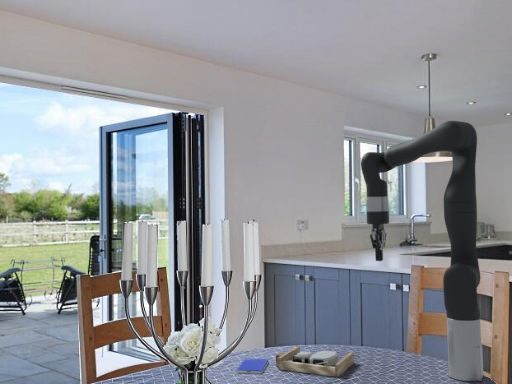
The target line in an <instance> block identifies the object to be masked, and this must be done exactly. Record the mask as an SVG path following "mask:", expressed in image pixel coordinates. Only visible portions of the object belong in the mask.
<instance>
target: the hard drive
mask: <svg viewBox="0 0 512 384" xmlns="http://www.w3.org/2000/svg"><path fill="white" fill-rule="evenodd" d="M269 361H270V360H269V359H267V358H244V359H243V361H242V362H241V363H240V364H239V366H238V367H237V368H236V370H235V373H236V374H255V375H257V374H258V375H259V374H260V375H262V374H263V372H264V371H265V370H266V367H268V364H269Z"/></svg>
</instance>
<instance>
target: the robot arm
mask: <svg viewBox="0 0 512 384" xmlns="http://www.w3.org/2000/svg"><path fill="white" fill-rule="evenodd" d="M477 146H478V134H477V131H476V128H475V127H474V126H473V125H472V124H471V123H469V122H466V121H465V122H464V121H457V120H449V121H448V120H447V121H445V122H443V123H441V124H439V125H437V126H436V127H434V128H432V129H431V130H428V131H427V132H425V133H423V134H421V135H419V136H417V137H415V138H412V139H409V140H406V141H404V142H400V143H397V144H395V145H394V144H393V145H392V146H390V147H388V148H386V149H385V151H383V152H378V151H377V152H376V151H375V152H374V151H369V152H365V153H364V154H363V155H362V157H361V160H360V167H361V168H360V169H361V173H362V176H363V179H364V182H365V187H366V190H365V191H366V201H365V202H366V203H365V204H366V205H365V206H366V208H365V209H366V223H367V225H372V229H371V234H370V235H369V237H370V242H371V245H372V249H374V251H375V252H374V253H375V261H376V262H383V261H384V248H385V247H386V239H387V232H386V229H385V225H389V224H390V209H389V208H390V206H389V205H390V204H389V199H388V197H389V196H388V183H387V181H386V180H384V179H382V178H381V176H380V173H382V174H383V173H387V172H389V171H392V170H393V169H395V168H397V167H400V166H403V165H407V164H411V163H413V162H414V161H417V160H418V159H420V158H421V157H423V156H425V155H428V154H432V153H437V152H440V153H441V152H449V153H451V155H452V156H451V157H452V169H451V175H450V177H449V180H448V182H447V185H446V188H445V191H444V192H443V193H444V194H443V217H444V224H445V228H446V231H447V234H448V235H447V236H448V238H449V239H448V240H449V242H450V266H449V267H447V269H446V270H445V271H444V274H443V279H442V285H443V287H442V288H443V289H442V290H443V301H444V308H445V311H446V333H447V334H446V335H447V357H448V358H447V362H448V368H447V369H448V376H449V377H450V378H452V379H455V380H458V381H461V382H463V381H464V382H477V381H478V382H482V380H483V377H484V360H483V356H484V355H483V342H482V333H481V332H482V330H481V327H482V326H481V309H480V308H479V304H478V287H479V286H480V284H481V283H480V282H481V271H480V264H479V257H478V251H477V235H478V234H477V233H478V207H477V206H478V202H477V185H476V184H477V179H476V162H477V160H476V159H477V149H478V148H477Z"/></svg>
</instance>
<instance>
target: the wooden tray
mask: <svg viewBox="0 0 512 384" xmlns="http://www.w3.org/2000/svg"><path fill="white" fill-rule="evenodd" d="M300 349H301V348H300V346H298V345H296V346H295V347H293V348H292V349H289V351H287V352H278V353H277V354H275V367H277V369H278V370H282V371H283V370H284V371H290V372H296V373H297V372H298V373H306V374H314V375H320V376H321V375H322V376H327V377H329V376H330V377H337V378H339V377H340V376H342V375H343V374H344V372H346V371H347V370H348V369H349V368H350V367H351V366H353V364H354V363H355V352H354V351H350V352H348V353H347V354H346V355H345V356H344V357H342V358H341V359H340V360H338V362H337V363H336V364H335V365H334V366H322V365H314V364H306V363H298V362H289V360H292V361H293V356H294V355H296V354H298V353H300V352H301V350H300Z"/></svg>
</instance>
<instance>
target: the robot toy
mask: <svg viewBox="0 0 512 384" xmlns="http://www.w3.org/2000/svg"><path fill="white" fill-rule="evenodd" d="M341 353H342V352H341V351H337V352H336V351H335V350H322V351H321V350H320V351H318V352H315V353H313V352H312V351H300V353H298V354H296V355H294V356H293V361H292V360H289V362H298V363H306V364H314V365H322V366H331V367H334V366H335V364H336V363H338V362H339V354H341Z"/></svg>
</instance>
